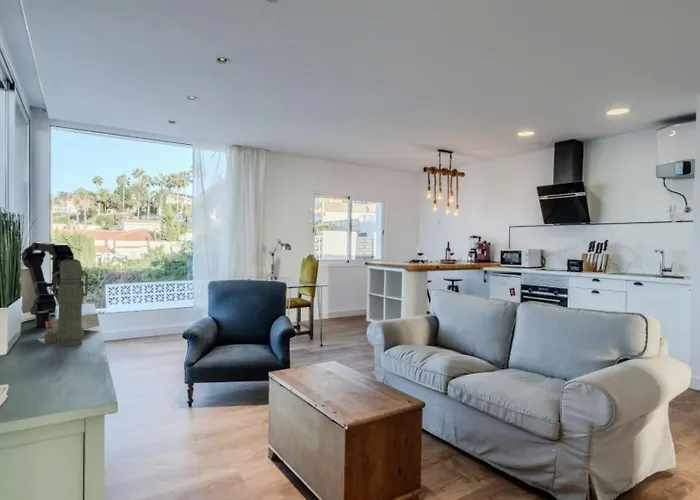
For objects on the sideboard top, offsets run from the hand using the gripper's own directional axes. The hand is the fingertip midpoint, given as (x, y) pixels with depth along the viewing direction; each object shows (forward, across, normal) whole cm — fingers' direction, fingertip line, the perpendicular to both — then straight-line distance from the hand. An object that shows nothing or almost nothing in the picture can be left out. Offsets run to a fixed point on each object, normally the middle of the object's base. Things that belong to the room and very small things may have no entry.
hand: (59, 302), depth 196 cm
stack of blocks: (+9, -2, -12) cm, 15 cm away
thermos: (+13, -5, -34) cm, 37 cm away
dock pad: (+13, -5, -22) cm, 26 cm away
